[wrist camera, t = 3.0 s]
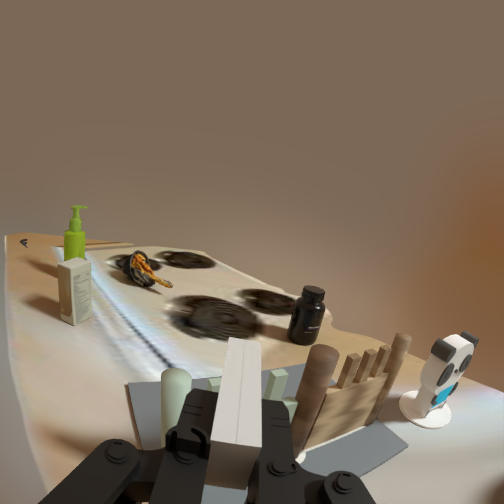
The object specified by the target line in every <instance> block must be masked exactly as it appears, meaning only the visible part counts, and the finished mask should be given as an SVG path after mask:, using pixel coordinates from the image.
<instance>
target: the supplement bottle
mask: <svg viewBox="0 0 504 504" xmlns="http://www.w3.org/2000/svg"><path fill="white" fill-rule="evenodd" d="M324 295H325V291H324V290H323V289H320V288H319V287H315V286H304V288H303V292H302V297H299V298H298V299H297V300H296V301H295V304H294V308H293V312H292V316H291V320H290V324H289V328H288V332H287V336H288V338H289V339H290V340H291V341H293V342H295V343H298V344H301V345H311V344H313V343H314V342H315V341H316V339H317V336H318V333H319V329H320V326H321V323H322V319H323V316H324V312H325V305H324V303H323V302H322V301H323V300H324Z"/></svg>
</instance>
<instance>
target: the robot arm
mask: <svg viewBox="0 0 504 504" xmlns="http://www.w3.org/2000/svg"><path fill="white" fill-rule="evenodd" d="M290 428H291V425H290V417H289V410H288V408H287V407H286V405H285V404H284V402H283V401H276V400H268V399H261V342H255V341H249V340H243V339H237V338H232V337H229V342H228V347H227V352H226V358H225V363H224V368H223V374H222V379H221V384H220V390H219V393H218V392H213V391H208V390H203V389H198V388H193V389H192V390H191V391H190V392H189V393H188V394H187V395H186V398H185V401H184V404H183V407H182V410H181V413H180V416H179V419H178V422H177V425H175V426H174V427H172V428H170V429H169V430H168V431H167V433H166V434H165V447H163V448H161V449H157V450H137V449H136V448H135V446H133V445H132V444H131V443H129V442H127V441H124V440H122V439H110V440H106V441H104V442H103V443H101V444H100V445H99V446H98V447H97V448H96V449H95V450H94V451H93V452H92V453H91V454H90V455H89V456H88V457H86V458H85V459H84V460H83V461H82V462H81V463H80V464H79V465H78V466H77V467H76V468H75V469H74V470H73V471H72V472H71V473H70V474H69V475H68V476H67V477H66V478H65V479H64V480H63V481H62V482H60V483H59V484H58V485H57V486H56V487H55V488H54V489H53V490H52V491H51V492H50V493H49V494H48V495H47V496H46V497H45V498H43V500H42V501H40V502H39V503H38V504H141V503H142V502H149V504H201V501H202V495H203V489H204V484H205V485H211V486H217V487H223V488H231V489H239V490H246V489H247V486H248V494H247V498H246V500H245V502H244V504H376V503H375V501H374V500H373V498H372V497H371V495H370V493H369V492H368V490H367V489H366V487H365V485H364V484H363V482H362V480H361V479H360V478H359V477H358V476H357V475H355V474H353V473H351V472H348V471H344V470H343V471H335V472H332V473H330V474H329V475H328V476H323V475H319V474H315V473H312V472H309V471H307V470H305V469H303V468H302V467H301V466H300V465H299V463H298V462H297V461H296V460H295V457H294V451H293V442H292V434H291V429H290Z"/></svg>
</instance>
